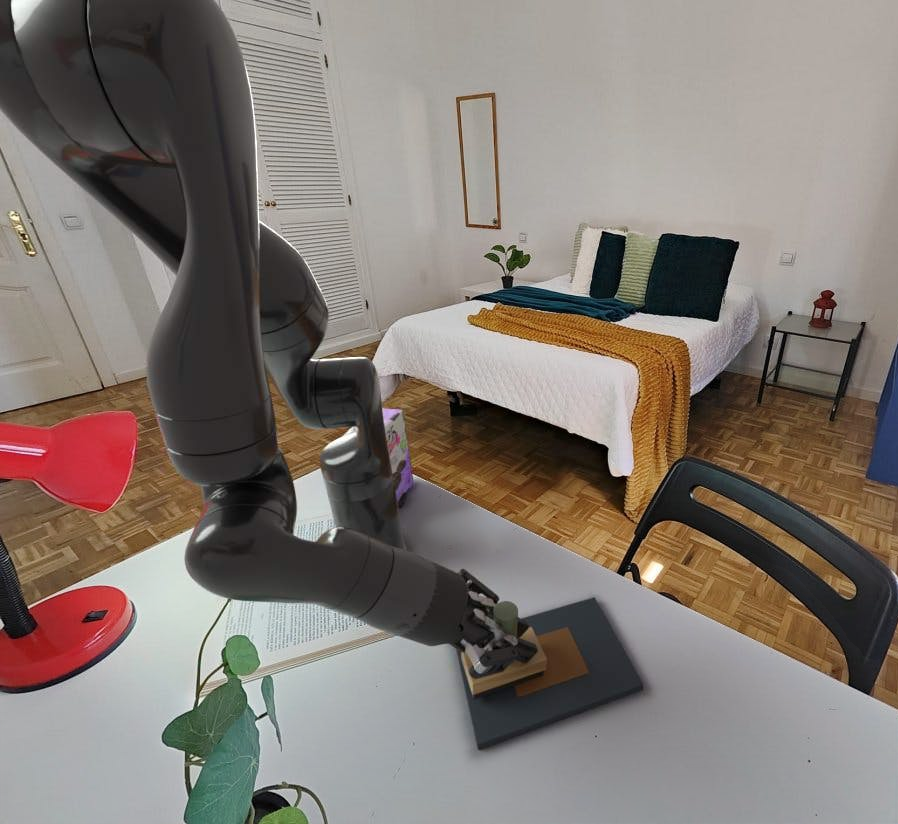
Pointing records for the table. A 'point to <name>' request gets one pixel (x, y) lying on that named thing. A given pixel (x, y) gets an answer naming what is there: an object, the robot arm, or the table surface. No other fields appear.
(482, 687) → the brush
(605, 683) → the desk mat
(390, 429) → the candy box
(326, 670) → the table surface
